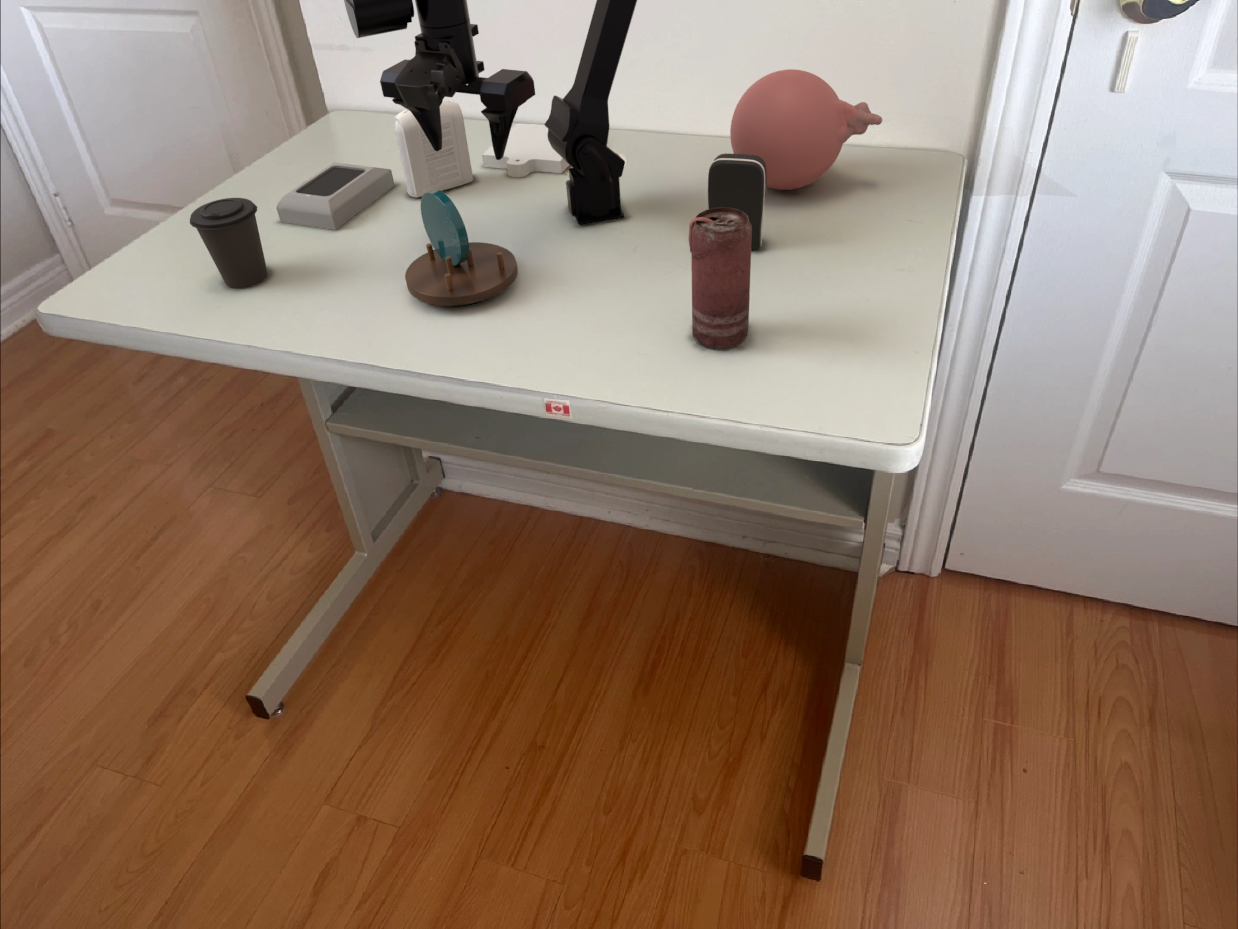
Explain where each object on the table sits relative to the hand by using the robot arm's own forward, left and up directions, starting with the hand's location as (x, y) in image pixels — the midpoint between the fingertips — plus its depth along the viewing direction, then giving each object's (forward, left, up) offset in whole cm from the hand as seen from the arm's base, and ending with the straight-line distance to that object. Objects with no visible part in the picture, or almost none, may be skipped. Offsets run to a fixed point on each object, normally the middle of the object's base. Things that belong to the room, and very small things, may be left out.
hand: (468, 154), depth 115 cm
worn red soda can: (-22, +32, -12) cm, 41 cm away
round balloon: (-45, -1, -12) cm, 47 cm away
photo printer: (+4, -20, -12) cm, 24 cm away
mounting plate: (-12, -27, -12) cm, 32 cm away
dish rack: (+4, +11, -11) cm, 16 cm away
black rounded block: (-31, +12, -12) cm, 36 cm away
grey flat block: (+19, -20, -12) cm, 30 cm away
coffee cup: (+31, -1, -12) cm, 33 cm away
